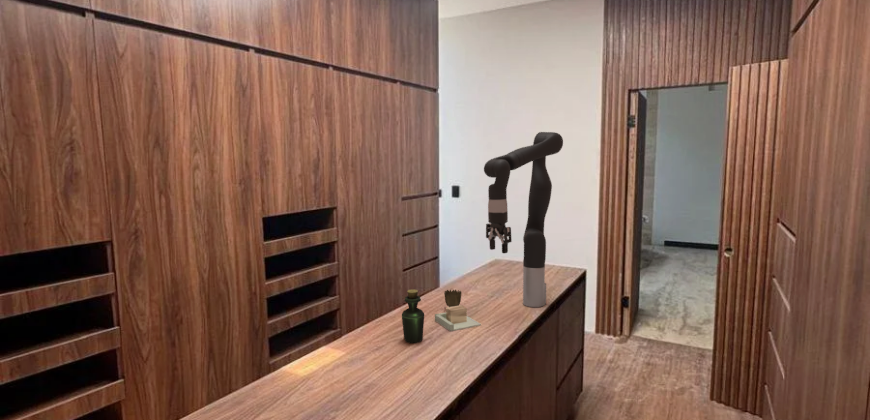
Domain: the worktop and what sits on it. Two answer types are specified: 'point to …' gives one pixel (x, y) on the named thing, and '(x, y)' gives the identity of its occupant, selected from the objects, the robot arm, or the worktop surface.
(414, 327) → the potion bottle
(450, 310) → the maple brick
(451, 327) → the corner tray
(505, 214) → the robot arm
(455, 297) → the cup
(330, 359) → the worktop surface
